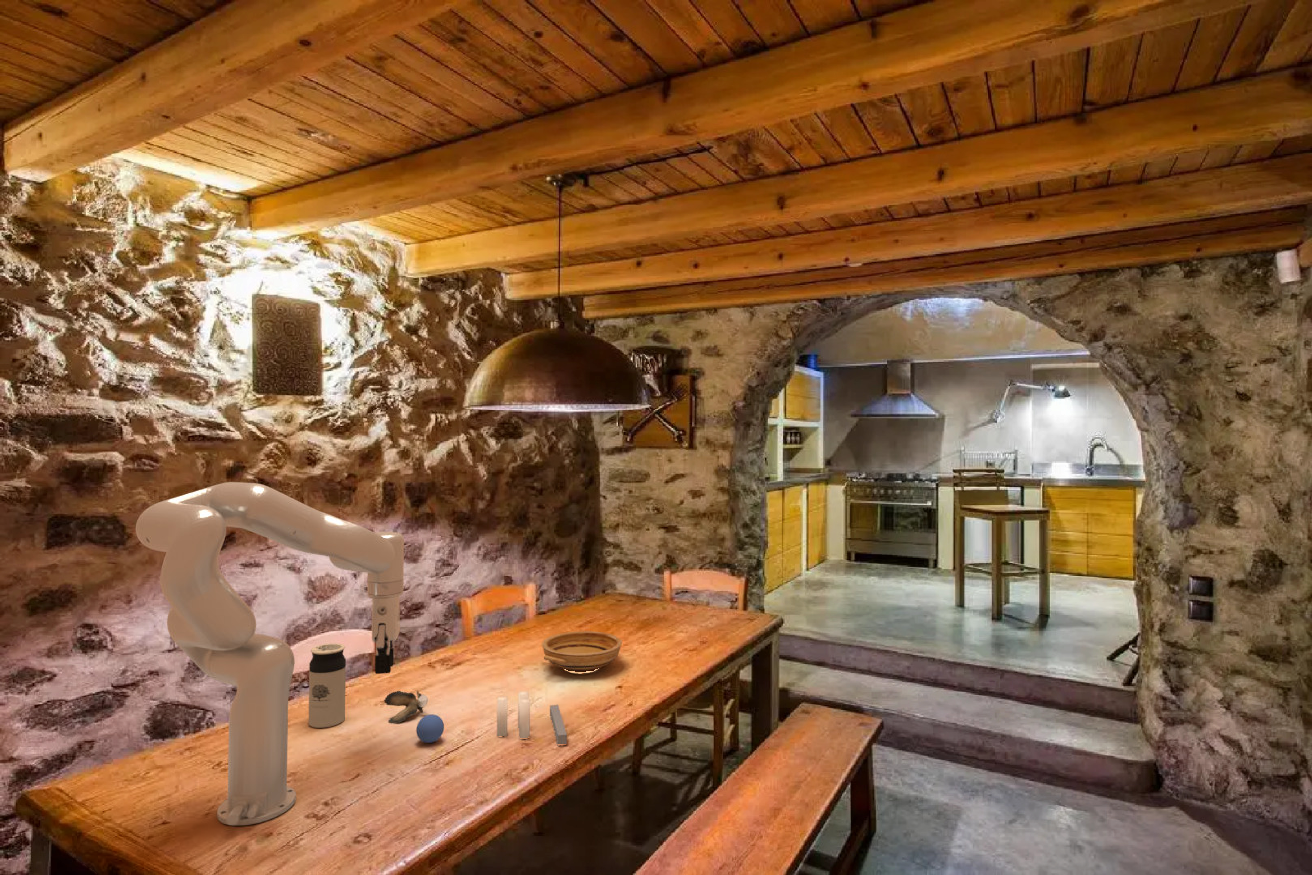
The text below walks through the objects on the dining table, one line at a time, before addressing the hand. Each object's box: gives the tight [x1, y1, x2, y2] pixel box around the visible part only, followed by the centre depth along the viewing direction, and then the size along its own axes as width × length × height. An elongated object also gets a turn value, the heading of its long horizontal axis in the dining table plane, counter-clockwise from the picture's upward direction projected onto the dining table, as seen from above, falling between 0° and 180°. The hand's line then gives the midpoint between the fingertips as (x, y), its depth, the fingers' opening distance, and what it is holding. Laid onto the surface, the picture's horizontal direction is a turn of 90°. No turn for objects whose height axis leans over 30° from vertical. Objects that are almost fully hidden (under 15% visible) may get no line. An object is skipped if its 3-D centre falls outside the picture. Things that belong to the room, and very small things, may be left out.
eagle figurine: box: [383, 690, 429, 724], centre depth 169 cm, size 8×7×9 cm
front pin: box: [496, 696, 509, 737], centre depth 159 cm, size 2×2×8 cm
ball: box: [415, 714, 445, 744], centre depth 155 cm, size 6×6×6 cm
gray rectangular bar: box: [549, 704, 568, 744], centre depth 162 cm, size 18×2×2 cm, turn 15°
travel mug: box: [308, 643, 347, 729], centre depth 165 cm, size 8×8×18 cm
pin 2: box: [518, 699, 531, 739], centre depth 158 cm, size 2×2×8 cm
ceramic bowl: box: [541, 630, 623, 672], centre depth 207 cm, size 30×24×8 cm
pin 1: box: [517, 690, 530, 729], centre depth 162 cm, size 2×2×8 cm
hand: (384, 668), depth 152 cm, fingers open, 3 cm apart
